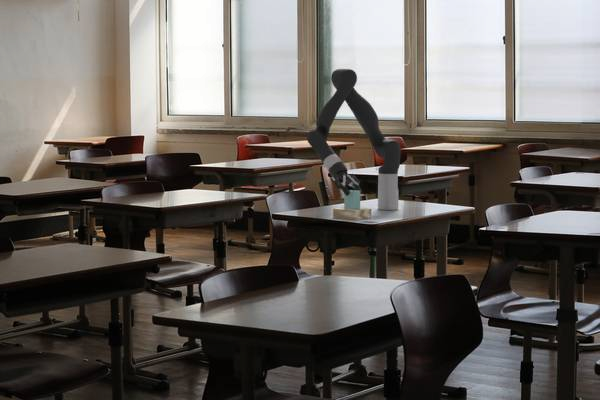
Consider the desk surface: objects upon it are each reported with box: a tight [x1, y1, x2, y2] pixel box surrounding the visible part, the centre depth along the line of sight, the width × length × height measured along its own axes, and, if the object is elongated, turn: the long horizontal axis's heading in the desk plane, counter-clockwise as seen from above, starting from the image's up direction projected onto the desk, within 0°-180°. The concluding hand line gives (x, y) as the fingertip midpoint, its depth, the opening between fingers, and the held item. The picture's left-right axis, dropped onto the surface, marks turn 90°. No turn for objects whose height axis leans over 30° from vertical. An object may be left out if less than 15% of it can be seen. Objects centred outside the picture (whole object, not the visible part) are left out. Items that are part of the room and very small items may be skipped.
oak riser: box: [332, 207, 372, 221], centre depth 443 cm, size 12×12×4 cm
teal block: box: [343, 189, 361, 210], centre depth 442 cm, size 5×5×8 cm
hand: (354, 193), depth 441 cm, fingers open, 8 cm apart
